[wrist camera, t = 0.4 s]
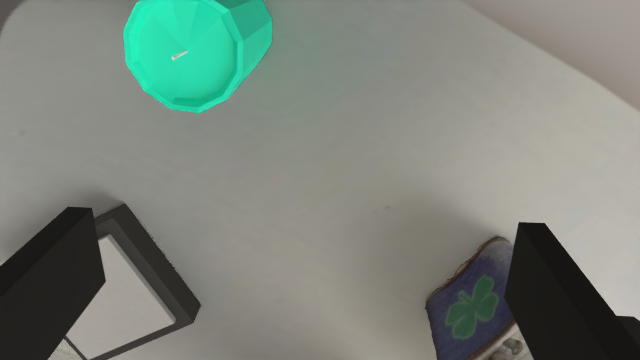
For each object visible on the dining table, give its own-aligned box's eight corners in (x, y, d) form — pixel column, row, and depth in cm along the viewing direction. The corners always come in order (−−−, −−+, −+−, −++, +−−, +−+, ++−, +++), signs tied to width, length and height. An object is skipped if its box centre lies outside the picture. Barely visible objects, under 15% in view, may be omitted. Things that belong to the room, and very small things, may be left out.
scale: (21, 255, 41) (-2, 276, 39) (125, 203, 39) (108, 221, 36) (101, 347, 45) (86, 372, 42) (201, 304, 43) (191, 328, 40)
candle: (282, 64, 34) (252, 110, 23) (199, 79, 35) (133, 131, 24) (262, -29, 32) (218, -26, 21) (174, -10, 32) (87, 2, 22)
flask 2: (496, 230, 39) (548, 321, 29) (522, 250, 39) (582, 346, 29) (417, 304, 42) (439, 409, 32) (442, 322, 42) (472, 430, 33)
